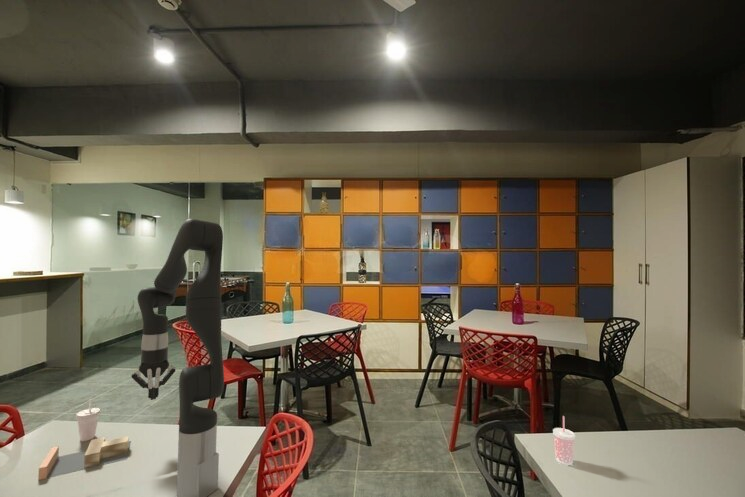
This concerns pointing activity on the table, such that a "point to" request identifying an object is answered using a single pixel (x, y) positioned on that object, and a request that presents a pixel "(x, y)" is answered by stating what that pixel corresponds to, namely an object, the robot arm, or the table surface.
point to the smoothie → (87, 422)
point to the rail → (48, 463)
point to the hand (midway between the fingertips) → (153, 398)
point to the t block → (104, 449)
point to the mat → (80, 462)
